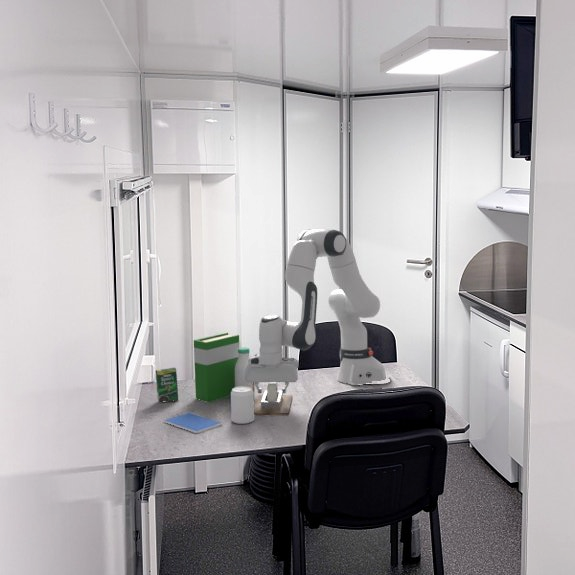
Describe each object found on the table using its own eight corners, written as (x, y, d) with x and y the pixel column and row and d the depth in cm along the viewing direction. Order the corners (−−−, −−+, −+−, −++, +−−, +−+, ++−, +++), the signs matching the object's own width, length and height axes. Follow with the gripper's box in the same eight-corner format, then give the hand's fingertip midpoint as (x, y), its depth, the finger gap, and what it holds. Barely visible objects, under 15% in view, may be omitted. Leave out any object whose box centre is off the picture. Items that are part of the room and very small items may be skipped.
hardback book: (228, 388, 311) (226, 332, 308) (240, 392, 306) (239, 334, 303) (195, 398, 299) (193, 340, 295) (208, 402, 294) (205, 342, 290)
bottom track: (282, 397, 295) (282, 390, 294) (279, 409, 280) (279, 402, 280) (265, 397, 295) (264, 390, 295) (261, 409, 281) (260, 402, 280)
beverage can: (228, 419, 273) (227, 387, 271) (249, 416, 276) (248, 384, 274) (236, 426, 266) (235, 393, 264) (257, 422, 269) (256, 390, 267)
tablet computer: (162, 423, 272) (161, 419, 271) (189, 414, 281) (189, 411, 280) (196, 435, 258) (196, 432, 258) (223, 426, 267) (223, 422, 267)
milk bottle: (251, 400, 295) (250, 351, 292) (233, 399, 297) (231, 350, 294) (256, 394, 303) (255, 346, 300) (238, 393, 304) (236, 345, 301)
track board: (292, 397, 298) (292, 395, 298) (288, 415, 277) (288, 413, 276) (257, 397, 299) (257, 395, 299) (250, 414, 278) (250, 412, 278)
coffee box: (158, 403, 293) (156, 371, 291) (156, 401, 296) (155, 369, 294) (178, 401, 296) (177, 368, 294) (177, 399, 299) (175, 367, 297)
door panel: (278, 399, 293) (277, 379, 291) (275, 407, 283) (275, 387, 282) (269, 399, 293) (269, 379, 292) (267, 407, 283) (266, 387, 282)
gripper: (298, 355, 287) (299, 390, 290) (246, 355, 289) (247, 390, 291) (297, 359, 281) (298, 395, 283) (243, 360, 283) (244, 395, 285)
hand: (272, 392), depth 287 cm, fingers open, 8 cm apart
